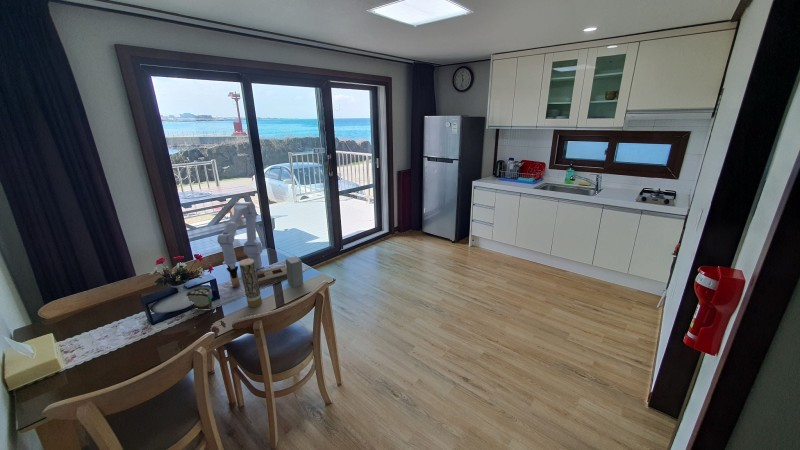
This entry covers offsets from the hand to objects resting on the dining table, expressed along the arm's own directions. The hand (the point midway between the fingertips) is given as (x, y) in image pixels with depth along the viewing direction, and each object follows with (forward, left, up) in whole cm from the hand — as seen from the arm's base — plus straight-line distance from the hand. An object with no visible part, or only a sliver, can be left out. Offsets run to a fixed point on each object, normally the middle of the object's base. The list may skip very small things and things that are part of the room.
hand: (233, 275), depth 177 cm
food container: (+14, -16, -7) cm, 22 cm away
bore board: (+2, +18, -7) cm, 19 cm away
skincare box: (+17, +30, -7) cm, 35 cm away
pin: (0, 0, -7) cm, 7 cm away
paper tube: (+26, +6, -7) cm, 28 cm away
